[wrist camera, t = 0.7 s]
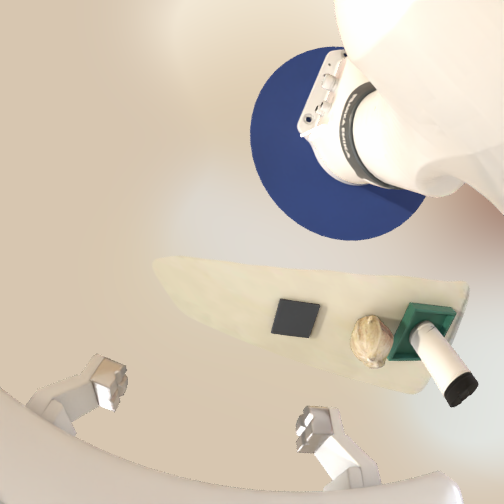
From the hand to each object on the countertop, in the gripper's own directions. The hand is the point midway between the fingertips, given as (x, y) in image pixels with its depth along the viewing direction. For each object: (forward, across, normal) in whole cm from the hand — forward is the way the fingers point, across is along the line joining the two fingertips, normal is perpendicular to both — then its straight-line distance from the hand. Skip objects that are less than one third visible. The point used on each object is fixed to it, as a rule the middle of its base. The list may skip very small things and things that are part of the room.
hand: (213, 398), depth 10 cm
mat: (+32, -11, +15) cm, 37 cm away
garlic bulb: (+33, -25, +14) cm, 44 cm away
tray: (+33, -39, +14) cm, 53 cm away
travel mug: (+33, -39, +14) cm, 53 cm away
